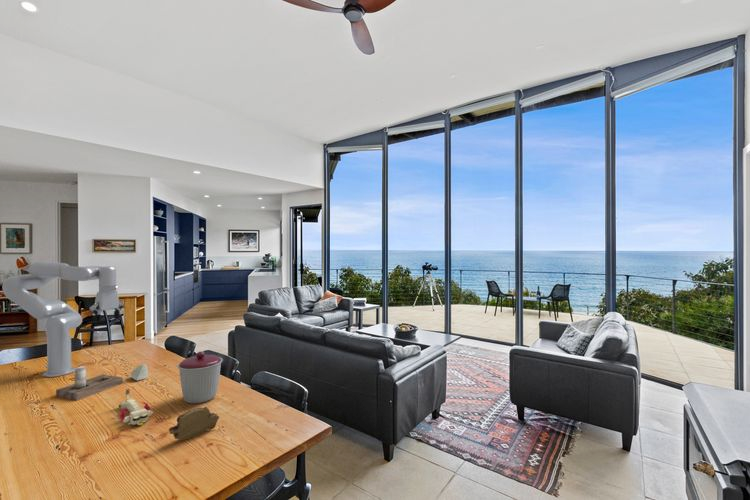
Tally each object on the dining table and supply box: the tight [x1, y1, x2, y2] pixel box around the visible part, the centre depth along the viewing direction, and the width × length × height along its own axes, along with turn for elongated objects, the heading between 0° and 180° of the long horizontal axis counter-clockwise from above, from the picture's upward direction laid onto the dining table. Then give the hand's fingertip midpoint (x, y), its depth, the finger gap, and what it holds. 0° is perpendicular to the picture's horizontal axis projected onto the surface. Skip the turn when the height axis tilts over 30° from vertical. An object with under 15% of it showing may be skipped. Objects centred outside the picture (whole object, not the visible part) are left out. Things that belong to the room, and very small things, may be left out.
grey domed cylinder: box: [74, 365, 87, 390], centre depth 158 cm, size 4×4×12 cm
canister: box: [176, 351, 224, 404], centre depth 153 cm, size 18×18×21 cm
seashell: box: [129, 363, 149, 382], centre depth 177 cm, size 8×8×8 cm
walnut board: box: [55, 374, 123, 401], centre depth 162 cm, size 14×20×3 cm
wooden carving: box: [168, 406, 220, 440], centre depth 122 cm, size 16×5×10 cm, turn 141°
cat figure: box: [118, 388, 154, 426], centre depth 137 cm, size 10×9×25 cm
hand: (107, 319), depth 187 cm, fingers open, 9 cm apart
